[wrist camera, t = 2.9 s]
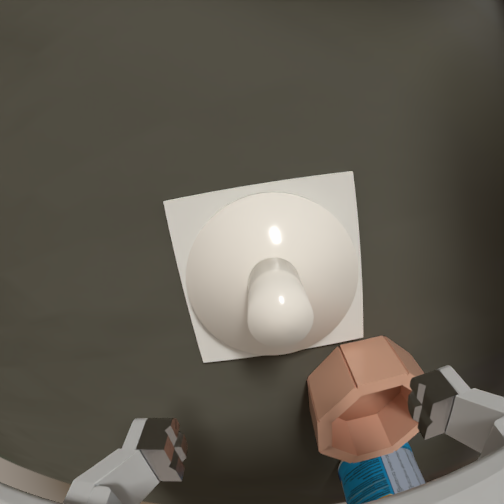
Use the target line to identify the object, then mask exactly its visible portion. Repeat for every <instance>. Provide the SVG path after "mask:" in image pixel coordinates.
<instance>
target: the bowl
mask: <svg viewBox="0 0 504 504" xmlns="http://www.w3.org/2000/svg"><path fill="white" fill-rule="evenodd" d="M422 374H424V372H423V371H422V369H421V368H420V367H419V365H418V364H417V362H416V361H415V360H414V358H413V357H412V356H411V354H410V353H408V352H407V351H406V350H404V349H403V348H401V347H400V346H399V345H397V344H396V343H394V342H393V341H391V340H390V339H389V338H387V337H386V336H384V337H383V335H382V336H378V337H374V338H369V339H365V340H360V341H356V342H351V343H346V344H341V345H340V348H339V347H338V346H337V347H336V348H335V349H334V350H333V351H332V352H331V354H330V355H329V356H328V357H327V358H326V359H325V360H324V361H323V362H322V363H321V364H320V365H319V366H318V367H317V368H316V369H315V370H314V371H313V372H312V373H311V374H310V375H309V376H308V379H307V385H308V396H309V408H310V413H311V418H312V422H313V427H314V432H315V436H316V441H317V446H318V450H319V452H320V453H321V454H324V455H327V456H330V457H333V458H336V459H339V460H342V461H345V462H348V463H352V462H353V463H357V462H361V461H365V460H369V459H372V458H376V457H380V456H383V455H387V454H390V453H393V452H394V451H397V450H398V449H399V448H400V447H402V446H403V445H404V444H405V443H406V442H408V441H409V440H410V439H411V438H412V437H413V436H415V435H416V434H417V433H418V432H419V430H418V428H417V427H418V422H417V421H415V420H413V419H412V417H411V415H410V413H409V410H408V396H409V394H410V393H411V392H412V390H411V388H410V381H411V379H412V378H413V377H416V376H419V375H422Z"/></svg>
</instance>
